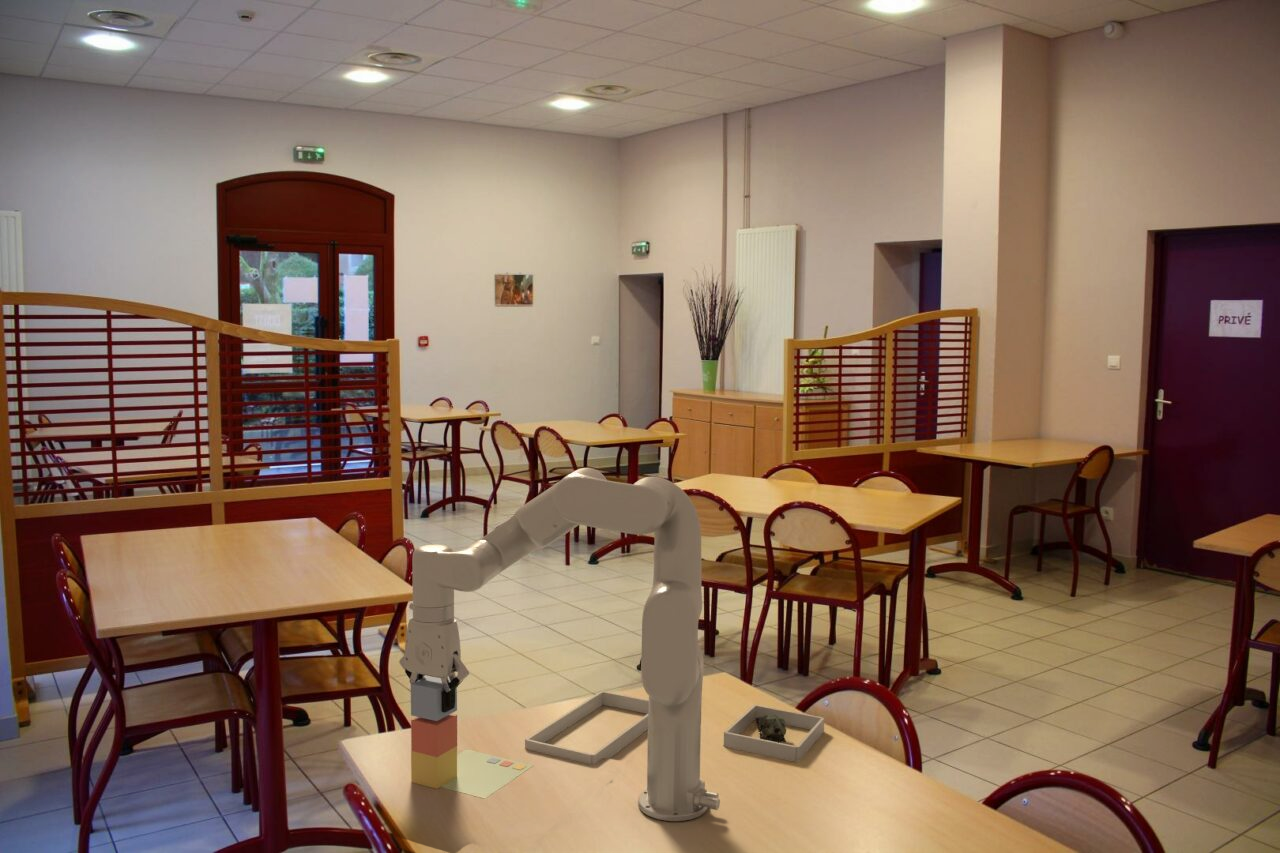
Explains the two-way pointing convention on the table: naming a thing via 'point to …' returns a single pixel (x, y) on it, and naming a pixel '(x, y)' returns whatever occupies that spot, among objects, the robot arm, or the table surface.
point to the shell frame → (770, 747)
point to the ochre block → (433, 768)
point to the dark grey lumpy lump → (772, 728)
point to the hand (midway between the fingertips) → (433, 705)
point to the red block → (434, 735)
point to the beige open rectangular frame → (571, 717)
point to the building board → (483, 773)
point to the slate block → (429, 699)
